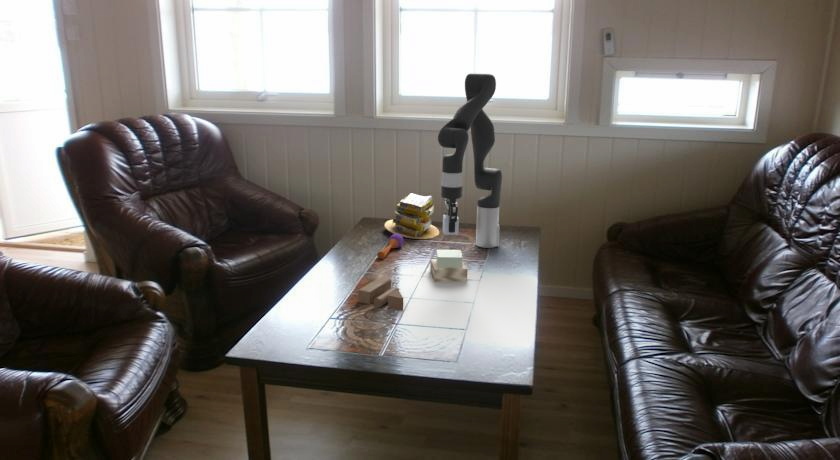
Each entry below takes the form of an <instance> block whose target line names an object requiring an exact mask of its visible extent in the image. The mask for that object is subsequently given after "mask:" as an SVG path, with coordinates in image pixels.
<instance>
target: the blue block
mask: <svg viewBox="0 0 840 460" xmlns="http://www.w3.org/2000/svg"><path fill="white" fill-rule="evenodd" d="M452 219H454V216H452ZM459 219H460V218H459V216H458V215H457V222H455V232H454V233H450V232H449V221H448V220H449V216H447V215H445V214H442V232H443V235H448V236H449V235H451V236H452V235H459V221H460V220H459Z"/></svg>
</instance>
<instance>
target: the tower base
mask: <svg viewBox="0 0 840 460" xmlns="http://www.w3.org/2000/svg"><path fill="white" fill-rule="evenodd" d="M436 259H437V258H430V267H429V268H430V269H429V270H430V273H431V276H432V279H433V282H435V283H436V282H437V283H438V282H439V283H440V282H441V283H442V282H467V281H468V267H467V265H466V263H465V262H464V260H463V263H462V268H438V267H437V260H436Z"/></svg>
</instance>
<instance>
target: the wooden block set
mask: <svg viewBox="0 0 840 460" xmlns="http://www.w3.org/2000/svg"><path fill="white" fill-rule="evenodd" d="M357 301H358V303H360V304H361V303H362V304H366V305H371V304H372V303H373V305H374V306H375V307H377V308H381V307H383V306H384V305H386V304H388V306H387V307H388V309H391V310H396V311H400V312H404V297H403V295H402V294H401V292H400V289H399V288H398V286H392V279H391V278H390V276H388V275H383V276H380V277H379V278H378V279H376V280H374V281H371V282H369V283H367V284H366V285H364V286H362V287H360V288H359V289H358V290H357Z"/></svg>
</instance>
